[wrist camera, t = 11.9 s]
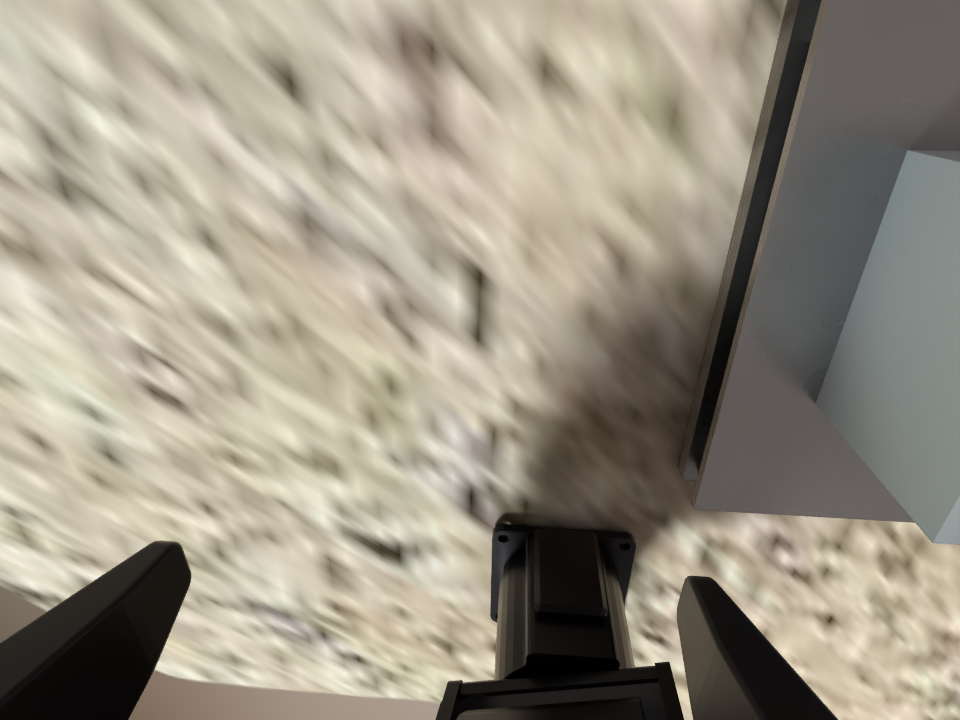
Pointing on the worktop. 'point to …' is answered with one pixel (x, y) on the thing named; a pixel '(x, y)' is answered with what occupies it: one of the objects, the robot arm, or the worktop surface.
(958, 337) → the housing
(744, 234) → the stand
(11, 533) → the worktop surface
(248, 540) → the worktop surface
